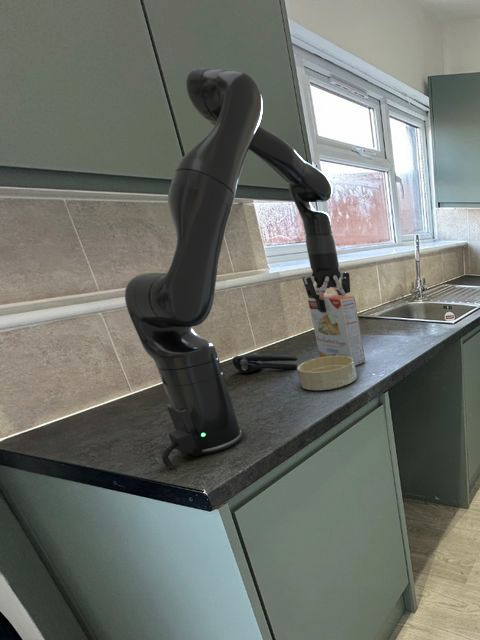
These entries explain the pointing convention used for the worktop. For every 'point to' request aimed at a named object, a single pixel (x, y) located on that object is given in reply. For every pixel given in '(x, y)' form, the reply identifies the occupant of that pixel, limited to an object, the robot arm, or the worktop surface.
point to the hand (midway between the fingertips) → (333, 309)
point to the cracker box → (337, 327)
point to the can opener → (248, 366)
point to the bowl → (326, 372)
